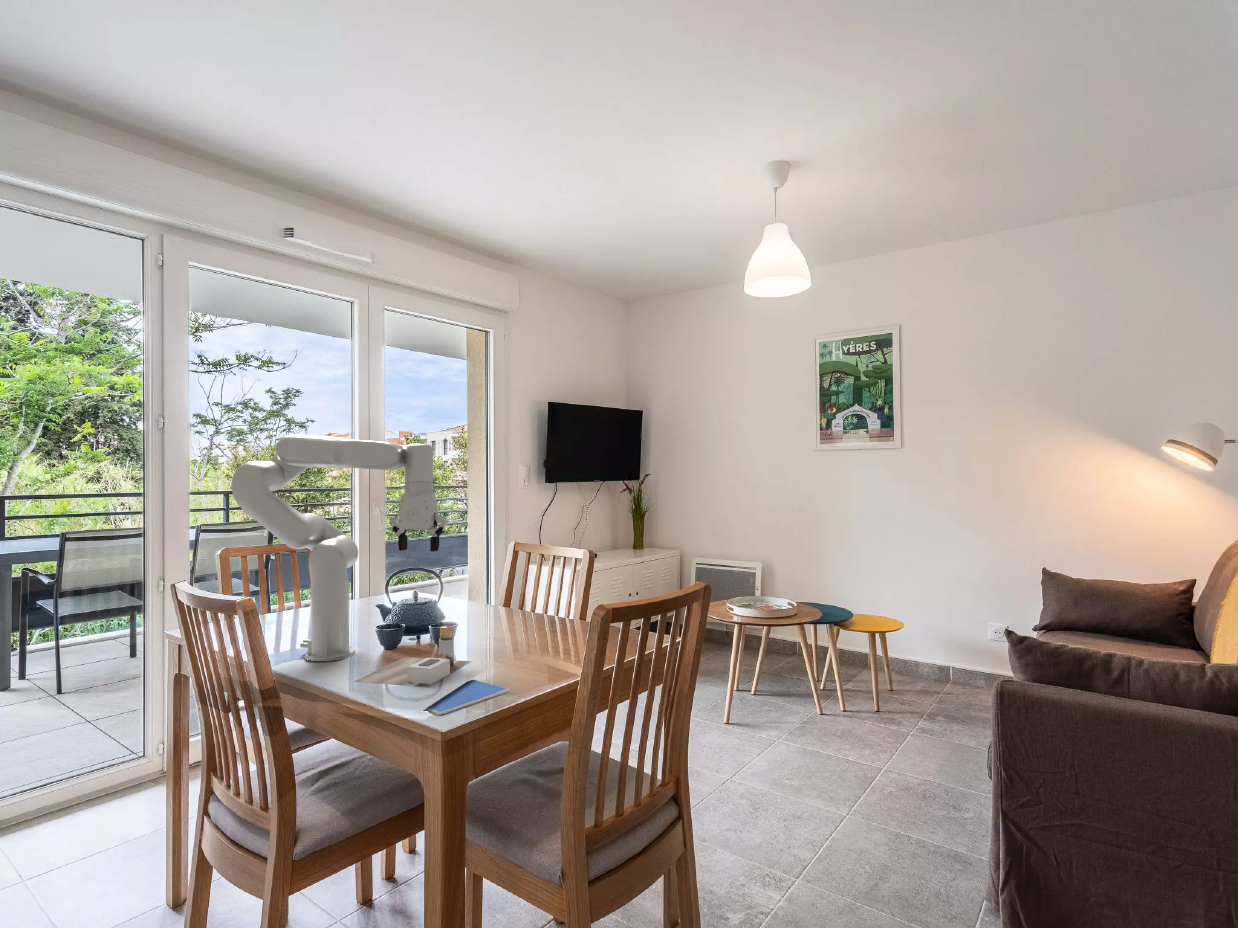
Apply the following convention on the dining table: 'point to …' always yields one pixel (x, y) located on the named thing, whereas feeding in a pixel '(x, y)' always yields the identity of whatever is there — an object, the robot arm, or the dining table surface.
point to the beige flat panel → (402, 673)
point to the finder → (428, 670)
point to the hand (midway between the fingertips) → (418, 550)
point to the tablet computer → (465, 696)
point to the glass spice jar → (446, 644)
